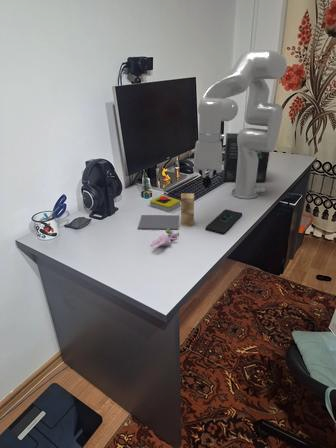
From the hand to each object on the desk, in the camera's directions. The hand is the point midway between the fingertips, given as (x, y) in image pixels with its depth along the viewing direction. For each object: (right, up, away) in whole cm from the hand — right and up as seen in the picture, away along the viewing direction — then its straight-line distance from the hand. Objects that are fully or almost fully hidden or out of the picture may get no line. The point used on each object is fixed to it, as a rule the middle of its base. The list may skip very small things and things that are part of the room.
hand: (206, 186), depth 118 cm
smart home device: (+8, -14, +9) cm, 18 cm away
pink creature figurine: (-16, -22, -6) cm, 27 cm away
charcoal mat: (-18, -14, +9) cm, 25 cm away
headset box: (+27, +11, +55) cm, 63 cm away
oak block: (-7, -14, +8) cm, 17 cm away
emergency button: (-16, -7, +24) cm, 29 cm away
